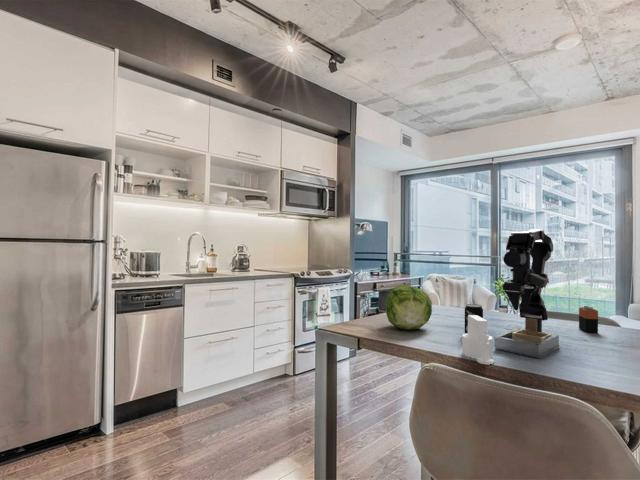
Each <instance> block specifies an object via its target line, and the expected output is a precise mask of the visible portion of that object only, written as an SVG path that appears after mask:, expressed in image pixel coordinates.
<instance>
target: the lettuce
mask: <svg viewBox="0 0 640 480" xmlns="http://www.w3.org/2000/svg"><path fill="white" fill-rule="evenodd" d="M432 305H433V304H432V301H431V299H430V297H429V295H428V294H427V293H426V292H424V291H423V290H422V289H420V288H418V287H415V286H411V285H406V284H404V285H401V284H399V285H397V286H395V287H392V289H391V290H390V291H389V293H388V294H387V297H386V300H385V310H384V311H385V314H386V317H387V319H388V322H389V323H390V324H391V325H392V326H394V327H395V328H397V329H402V330H405V331H406V330H409V331H411V330H416V329H419V328H422V327H423V326H425V324H427V323H428V322H429V320H430V318H431V316H432V314H433V306H432Z"/></svg>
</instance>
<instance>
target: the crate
mask: <svg viewBox="0 0 640 480" xmlns="http://www.w3.org/2000/svg"><path fill="white" fill-rule="evenodd" d="M551 336H553V335H552V334H551V333H546V332H544V333H541V332H537V319H532V318H526V330H525V329H522V328H520V330H518V331H515V332H513V333H512V339H513V340H518V341H524V342H529V343H534V344H536V343H538V342H540V341H542V340H544V339H546V338H548V337H551Z"/></svg>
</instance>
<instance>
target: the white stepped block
mask: <svg viewBox="0 0 640 480" xmlns="http://www.w3.org/2000/svg"><path fill="white" fill-rule="evenodd" d="M485 329H487V330H488V320H487V319H485V318H484V317H483V318H481V317H479V316H477V315H468V333H466V334H465V333H463V334H462V338H461V339H462V346H461V347H462V351H461V352H462V353H463V354H464V355H465V356H464V355H463V354H462V355H463V356H464V357H466V356H468V357H467V358H469V357H473V358H479V357H482V355H483V349H484V345H483V344H482V342H484V341H483V337H482V335H484V334H485V333H483V331H485ZM487 342H488V343H489V345H487V348H488V355H489V357H490V358H491V357H492V358H493V336H491V335H489V339H488V341H487ZM473 358H472V359H473ZM492 358H491V359H492Z"/></svg>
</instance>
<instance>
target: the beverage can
mask: <svg viewBox="0 0 640 480" xmlns="http://www.w3.org/2000/svg"><path fill="white" fill-rule="evenodd" d="M468 315H477V316H479V317H481V318H483V319H484V309H483V306H482V304H476V303H467V304H465V306H464V334H466V333H468Z"/></svg>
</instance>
